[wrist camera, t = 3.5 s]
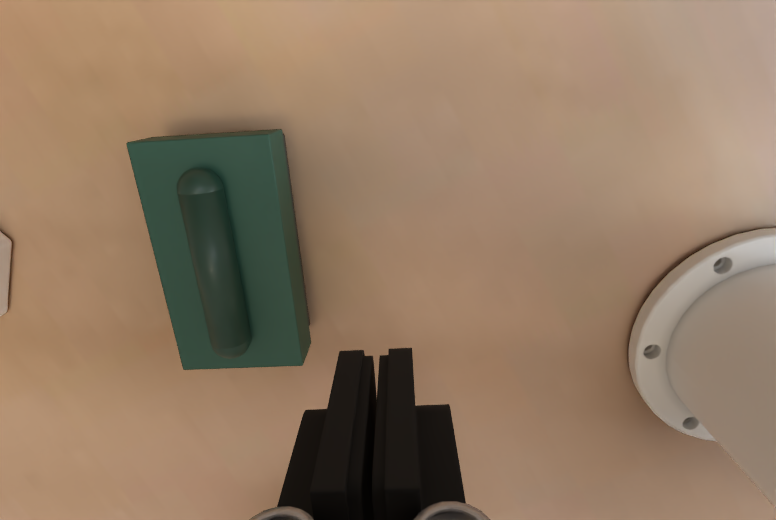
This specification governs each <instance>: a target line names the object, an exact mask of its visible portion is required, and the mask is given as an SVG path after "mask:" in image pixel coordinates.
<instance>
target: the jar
mask: <svg viewBox="0 0 776 520" xmlns="http://www.w3.org/2000/svg"><path fill="white" fill-rule="evenodd" d="M11 249H12V242H11V240H10V239H9V238H8V237H7V236H6V235H4V234H3V233H2V232H1V231H0V316H2V315H4V314H5V313H6V312H7V310H8V294H9V279H10V264H11Z"/></svg>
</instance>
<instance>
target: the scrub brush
mask: <svg viewBox="0 0 776 520" xmlns="http://www.w3.org/2000/svg"><path fill="white" fill-rule="evenodd" d="M127 148H128V152H129V156H130V160H131V164H132V168H133V172H134V176H135V180H136V184H137V188H138V192H139V196H140V199H141V203H142V207H143V211H144V215H145V219H146V223H147V227H148V231H149V235H150V239H151V243H152V247H153V251H154V255H155V259H156V263H157V267H158V271H159V275H160V279H161V283H162V287H163V291H164V295H165V298H166V302H167V306H168V310H169V314H170V318H171V322H172V326H173V330H174V334H175V338H176V342H177V346H178V350H179V354H180V358H181V362H182V366H183V369H184V370H192V369H220V368H248V367H276V366H302V365H303V363H304V361H305V358H306V355H307V352H308V349H309V347H310V344H311V338H310V331H309V325H310V321H309V313H308V306H307V299H306V291H305V284H304V277H303V269H302V262H301V254H300V247H299V240H298V232H297V225H296V218H295V210H294V203H293V195H292V188H291V181H290V173H289V166H288V158H287V151H286V144H285V136H284V134H283V133H282V130H281V129H276V130H260V131H244V132H227V133H211V134H195V135H179V136H162V137H151V138H146V139H142V140H137V141H132V142H128V143H127Z"/></svg>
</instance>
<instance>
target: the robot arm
mask: <svg viewBox="0 0 776 520" xmlns="http://www.w3.org/2000/svg"><path fill="white" fill-rule="evenodd" d="M628 351H629V368H630V372H631V375H632V379H633V383H634V385H635V386H636V388H637V390H638V392H639V394H640V395H641V397H642V399H643V400H644V401H645V402H646V404H647V405H648V406H649V407H650V408H651V410H652V411H653V412H654V414H655V415H657V416H658V417H659V418H660V419H661V420H663V421H664V422H665V423H666V424H667V425H669V426H670V427H672V428H674V429H676V430H677V431H679V432H681V433H683V434H686V435H690V436H693V437H696V438H699V439H703V440H709V441H717V442H718V443H719V444H720V446H721V447H722V448H723V449H724V450H725V451H726V452H727V453H728V455H729V456H730V457H731V458H732V459H733V460H734V461H735V463H736V464H737V465H738V466H739V467H740V468H741V469H742V471H743V472H744V473H745V474H746V475H747V476H748V477H749V479H750V480H751V481H752V482H753V483H754V484H755V485H756V487H757V488H758V489H759V490H760V491H761V492H762V493H763V494H764V496H765V497H766V498H767V499H768V500H769V501H770V502H771V504H772V505H773V506H774V507H775V508H776V228H767V229H758V230H754V231H749V232H745V233H740V234H736V235H733V236H731V237H728V238H726V239H723V240H720V241H718V242H715V243H713V244H711V245H709V246H707V247H705V248H704V249H702V250H700V251H698V252H697V253H695V254H693V255H691V256H690V257H688V258H687V259H686V260H684V261H683V262H682V263H681V264H679V265H678V266H677V267H676V268H674V269H673V270H672V271H670V272H669V273H668V274H667V275H666V276H665V278H664V279H663V280H662V281H661V282H660V283H659V284H658V285H657V286H656V287H655V288H654V290H653V291H652V292H651V294H650V295H649V297H648V298H647V300H646V301H645V303H644V304H643V306H642V308H641V309H640V311H639V314H638V316H637V318H636V321H635V323H634V326H633V328H632V332H631V337H630V343H629V348H628ZM249 520H490V519H489V518H488V517H487V516H486V515H485V514H484V513H483V512H482V511H480V510H478V509H477V508H475V507H473V506H471V505H469V504H466V502H465V496H464V490H463V484H462V478H461V472H460V465H459V459H458V453H457V447H456V441H455V435H454V429H453V423H452V417H451V411H450V406H449V404H446V405H421V406H415V394H414V377H413V359H412V348H398V349H389V355H382V356H380V359H379V375H378V391H377V396H376V385H375V373H374V361H373V356H365V355H364V351H363V350H353V351H340V352H339V356H338V361H337V366H336V370H335V375H334V380H333V384H332V389H331V394H330V399H329V403H328V408H327V409H319V410H306V411H305V412H304V414H303V417H302V420H301V424H300V428H299V431H298V435H297V438H296V442H295V445H294V449H293V452H292V456H291V459H290V463H289V467H288V470H287V474H286V477H285V481H284V484H283V488H282V491H281V495H280V499H279V502H278V506H277V507H275V508H272V509H268V510H265V511H263V512H261V513H259V514H257V515H255V516H254V517H252V518H251V519H249Z"/></svg>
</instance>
